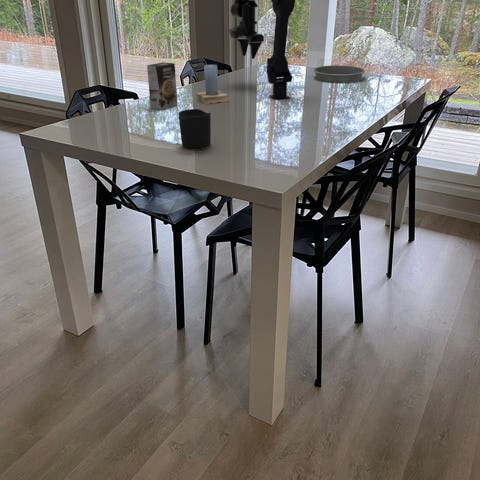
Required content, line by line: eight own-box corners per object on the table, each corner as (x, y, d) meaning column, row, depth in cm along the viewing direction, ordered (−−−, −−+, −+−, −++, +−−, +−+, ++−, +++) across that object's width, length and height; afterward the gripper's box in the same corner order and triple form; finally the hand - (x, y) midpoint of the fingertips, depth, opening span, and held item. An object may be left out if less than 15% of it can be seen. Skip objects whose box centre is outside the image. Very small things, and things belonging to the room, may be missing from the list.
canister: (221, 93, 198) (219, 65, 192) (213, 95, 194) (211, 67, 189) (211, 92, 200) (209, 64, 195) (203, 94, 197) (201, 66, 191)
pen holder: (212, 140, 151) (210, 108, 146) (211, 150, 143) (210, 116, 138) (182, 141, 151) (179, 109, 146) (179, 151, 143) (177, 117, 138)
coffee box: (161, 110, 185) (158, 66, 177) (150, 108, 188) (145, 64, 180) (178, 105, 191) (175, 63, 183) (166, 103, 194) (163, 61, 187)
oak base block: (228, 101, 196) (228, 95, 195) (205, 104, 193) (205, 97, 192) (219, 96, 204) (218, 90, 203) (196, 99, 201) (196, 92, 200)
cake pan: (303, 77, 242) (303, 67, 239) (344, 72, 250) (344, 63, 248) (331, 86, 222) (332, 76, 220) (374, 81, 231) (375, 71, 229)
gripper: (222, 17, 211) (223, 55, 218) (240, 21, 196) (240, 61, 203) (245, 16, 214) (245, 54, 222) (264, 20, 200) (264, 59, 207)
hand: (248, 57), depth 214 cm, fingers open, 9 cm apart
